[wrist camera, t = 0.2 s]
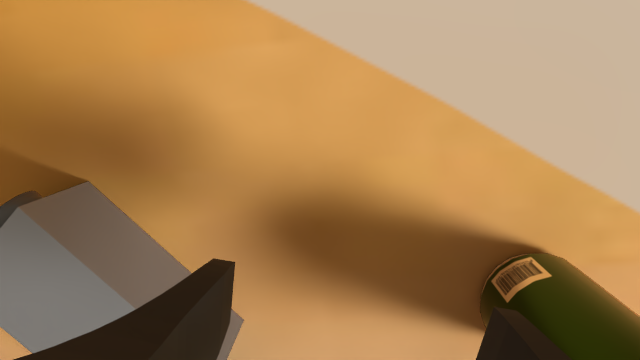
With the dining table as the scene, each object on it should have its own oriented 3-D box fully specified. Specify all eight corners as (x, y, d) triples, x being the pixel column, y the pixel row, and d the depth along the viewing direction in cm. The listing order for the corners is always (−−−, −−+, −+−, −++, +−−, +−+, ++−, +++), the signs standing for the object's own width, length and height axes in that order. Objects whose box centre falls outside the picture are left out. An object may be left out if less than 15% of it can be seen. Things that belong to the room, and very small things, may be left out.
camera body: (18, 232, 23) (-81, 277, 18) (73, 168, 22) (-14, 193, 17) (185, 375, 25) (140, 457, 19) (243, 320, 24) (214, 389, 18)
